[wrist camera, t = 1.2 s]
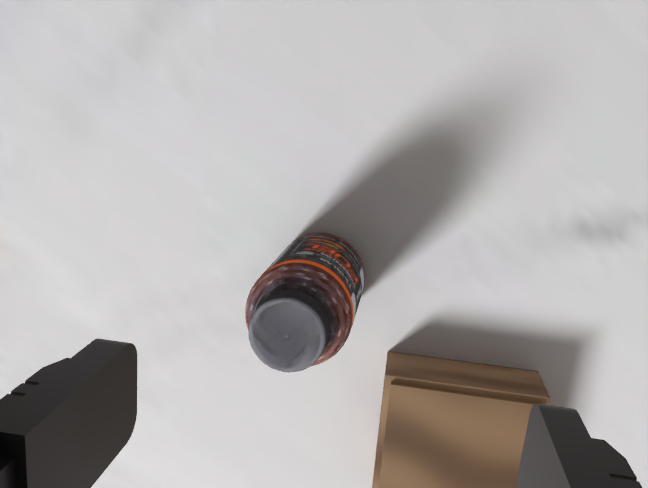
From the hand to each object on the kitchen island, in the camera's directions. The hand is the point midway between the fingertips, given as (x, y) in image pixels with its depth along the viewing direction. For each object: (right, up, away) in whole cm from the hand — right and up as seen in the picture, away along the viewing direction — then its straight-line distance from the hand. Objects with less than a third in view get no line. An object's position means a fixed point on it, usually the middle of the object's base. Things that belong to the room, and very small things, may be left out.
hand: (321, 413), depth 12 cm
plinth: (+9, -9, +30) cm, 33 cm away
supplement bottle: (0, +1, +29) cm, 29 cm away
